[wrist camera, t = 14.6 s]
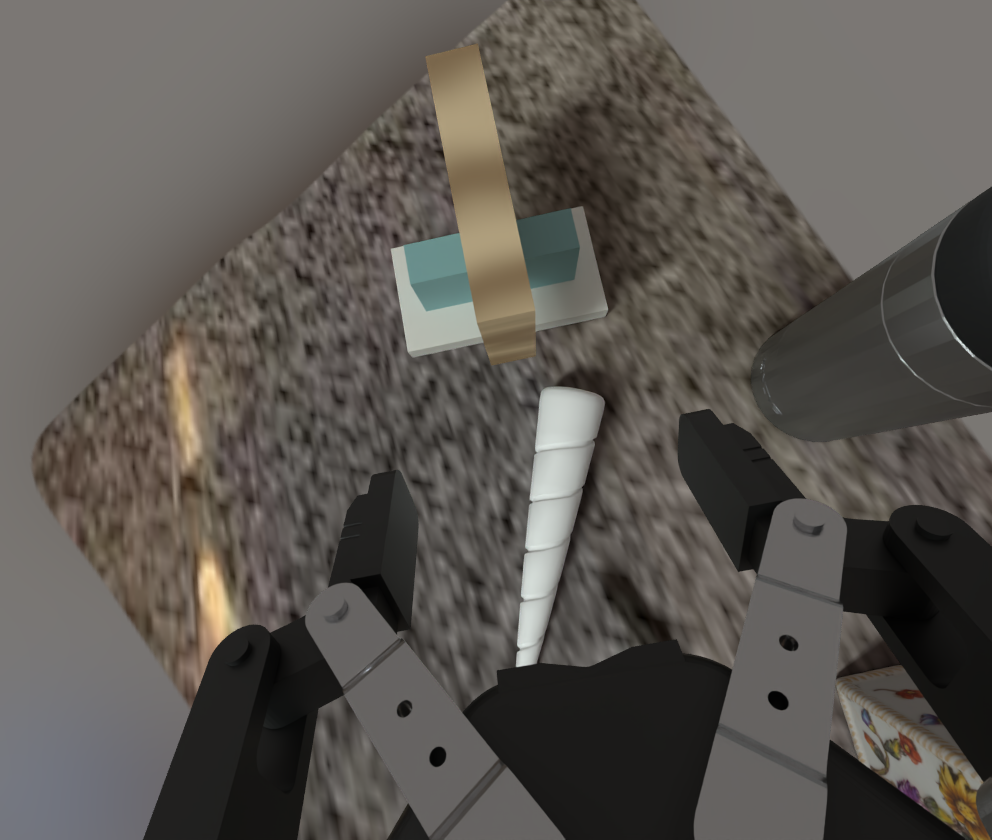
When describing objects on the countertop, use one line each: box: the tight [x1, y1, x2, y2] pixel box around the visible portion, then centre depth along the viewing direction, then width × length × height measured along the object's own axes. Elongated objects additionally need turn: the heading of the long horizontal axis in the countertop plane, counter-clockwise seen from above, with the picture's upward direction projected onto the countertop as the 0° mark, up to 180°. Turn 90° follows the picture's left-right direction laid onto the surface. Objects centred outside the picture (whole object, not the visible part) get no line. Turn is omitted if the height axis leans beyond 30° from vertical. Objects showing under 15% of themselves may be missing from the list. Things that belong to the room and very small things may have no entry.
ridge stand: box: [391, 206, 608, 357], centre depth 37 cm, size 16×9×6 cm, turn 101°
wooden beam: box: [426, 44, 536, 365], centre depth 29 cm, size 16×3×8 cm, turn 11°
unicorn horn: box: [516, 386, 605, 667], centre depth 34 cm, size 5×24×5 cm, turn 166°
